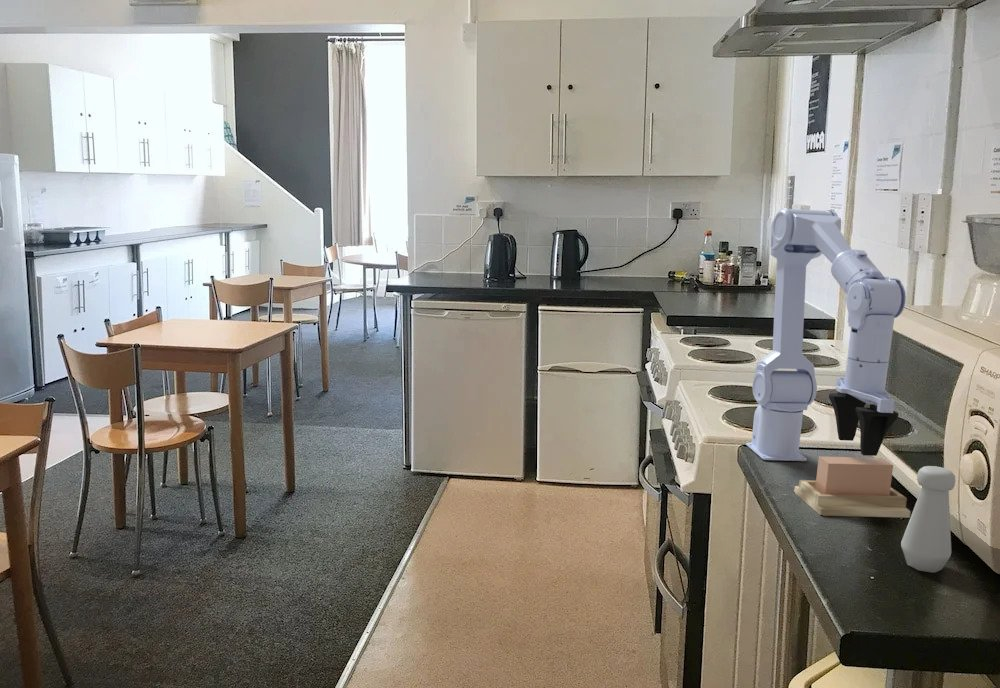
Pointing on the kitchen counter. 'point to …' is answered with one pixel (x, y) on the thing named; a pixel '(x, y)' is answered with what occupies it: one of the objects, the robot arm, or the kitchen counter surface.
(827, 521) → the kitchen counter surface
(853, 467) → the clay block
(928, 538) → the salt shaker
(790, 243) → the robot arm
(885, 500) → the tray
